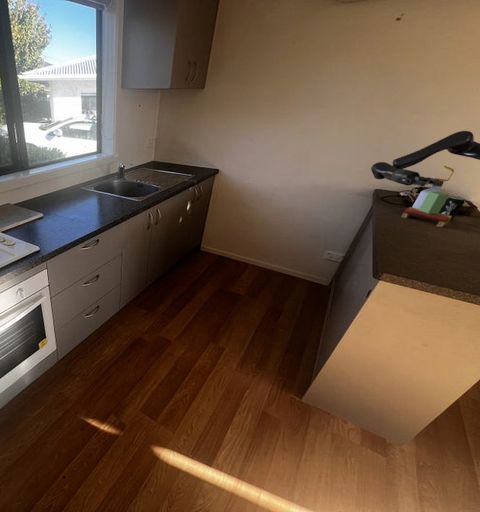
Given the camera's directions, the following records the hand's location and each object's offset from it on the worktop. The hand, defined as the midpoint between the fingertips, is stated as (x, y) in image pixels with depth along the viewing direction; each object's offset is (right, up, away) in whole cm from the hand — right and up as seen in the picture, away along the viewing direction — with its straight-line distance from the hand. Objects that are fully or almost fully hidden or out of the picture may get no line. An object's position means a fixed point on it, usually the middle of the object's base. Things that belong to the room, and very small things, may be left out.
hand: (433, 184), depth 148 cm
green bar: (0, -14, +2) cm, 14 cm away
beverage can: (+12, -17, +6) cm, 22 cm away
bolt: (+29, -11, +17) cm, 36 cm away
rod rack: (0, -18, +4) cm, 19 cm away
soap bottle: (+15, -10, +19) cm, 26 cm away
